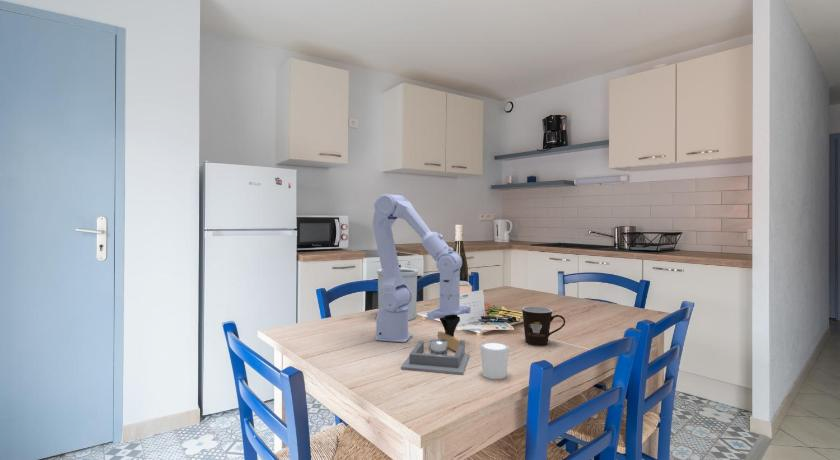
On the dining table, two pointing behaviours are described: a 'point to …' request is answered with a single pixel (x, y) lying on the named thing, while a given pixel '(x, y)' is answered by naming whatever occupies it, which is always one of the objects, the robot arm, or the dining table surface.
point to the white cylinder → (494, 359)
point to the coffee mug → (538, 324)
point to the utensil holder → (411, 280)
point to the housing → (436, 361)
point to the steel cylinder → (438, 347)
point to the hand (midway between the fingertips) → (449, 340)
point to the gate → (451, 341)
